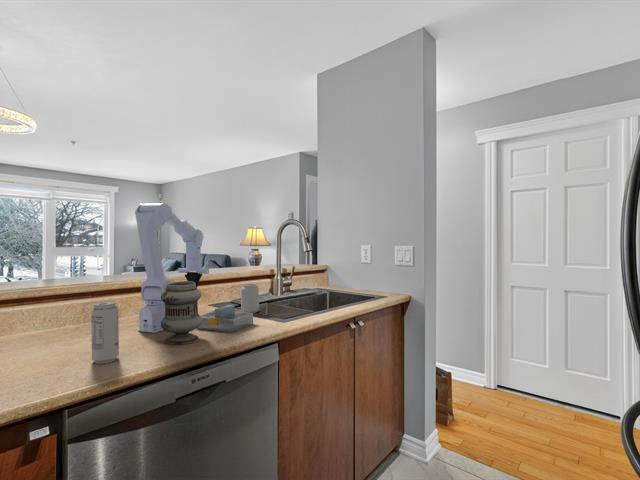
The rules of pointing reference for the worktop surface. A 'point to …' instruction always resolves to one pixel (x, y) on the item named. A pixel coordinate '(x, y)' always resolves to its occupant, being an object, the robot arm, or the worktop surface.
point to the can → (250, 298)
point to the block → (224, 311)
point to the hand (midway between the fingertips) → (193, 290)
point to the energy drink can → (105, 332)
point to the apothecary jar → (181, 312)
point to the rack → (226, 321)
